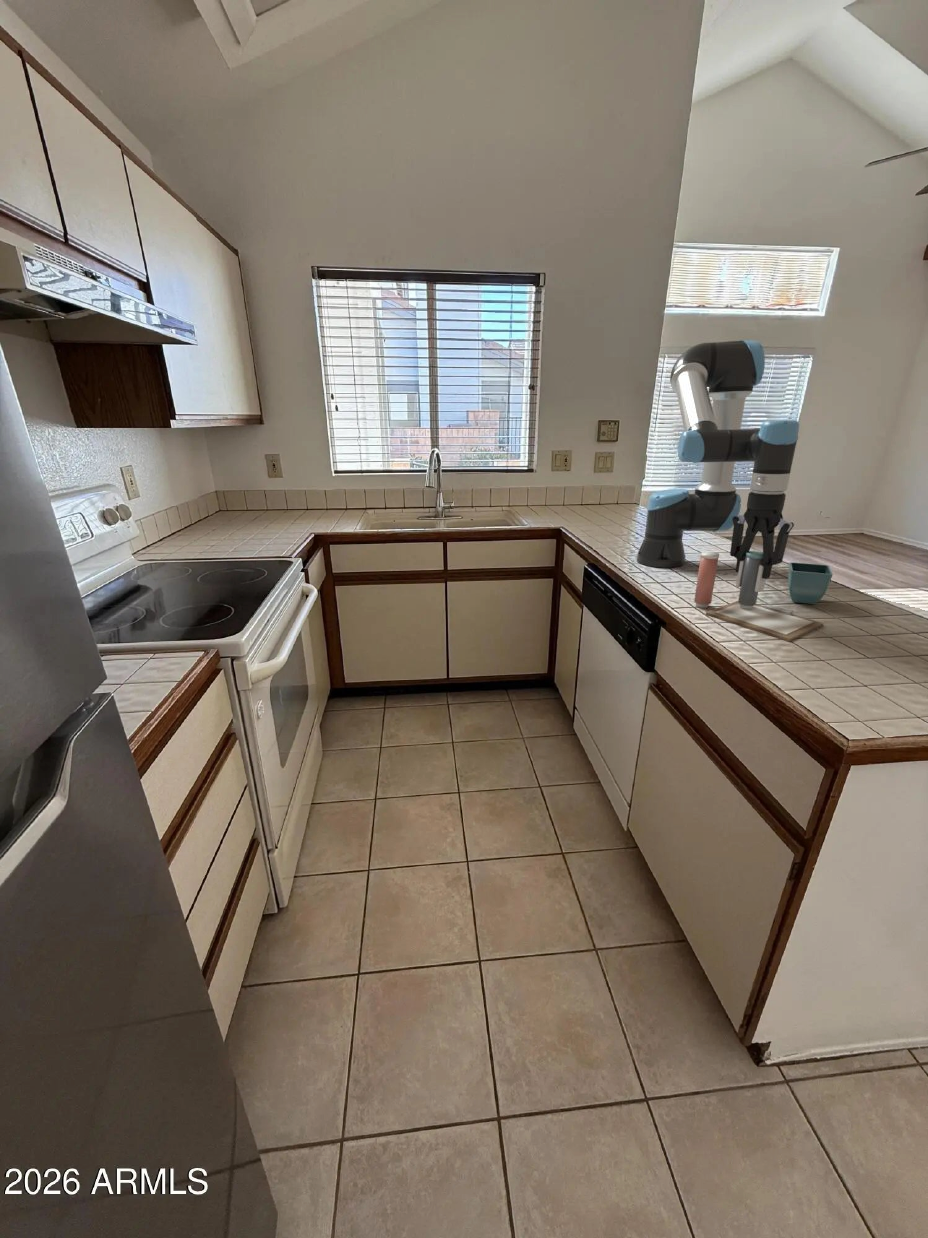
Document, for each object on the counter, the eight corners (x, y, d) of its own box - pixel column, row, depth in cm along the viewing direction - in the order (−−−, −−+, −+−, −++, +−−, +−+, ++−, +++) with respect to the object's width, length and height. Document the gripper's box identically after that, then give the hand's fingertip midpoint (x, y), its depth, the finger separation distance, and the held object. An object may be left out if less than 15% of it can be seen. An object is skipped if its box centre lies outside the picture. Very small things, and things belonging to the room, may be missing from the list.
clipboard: (705, 614, 128) (706, 609, 127) (740, 601, 135) (741, 596, 134) (788, 641, 112) (790, 635, 111) (822, 625, 119) (824, 620, 119)
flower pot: (784, 603, 133) (791, 570, 129) (782, 593, 140) (789, 561, 137) (824, 608, 129) (833, 574, 126) (820, 597, 136) (829, 565, 133)
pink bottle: (690, 605, 134) (697, 553, 128) (699, 602, 136) (707, 550, 130) (704, 610, 130) (712, 556, 125) (714, 606, 132) (722, 553, 127)
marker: (733, 606, 130) (742, 552, 124) (742, 603, 132) (752, 550, 126) (749, 611, 126) (759, 556, 121) (758, 607, 128) (769, 553, 123)
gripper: (723, 489, 123) (708, 582, 132) (798, 497, 110) (776, 600, 118) (741, 486, 127) (725, 577, 136) (815, 493, 114) (793, 593, 122)
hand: (749, 587), depth 127 cm, fingers closed on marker, 4 cm apart
